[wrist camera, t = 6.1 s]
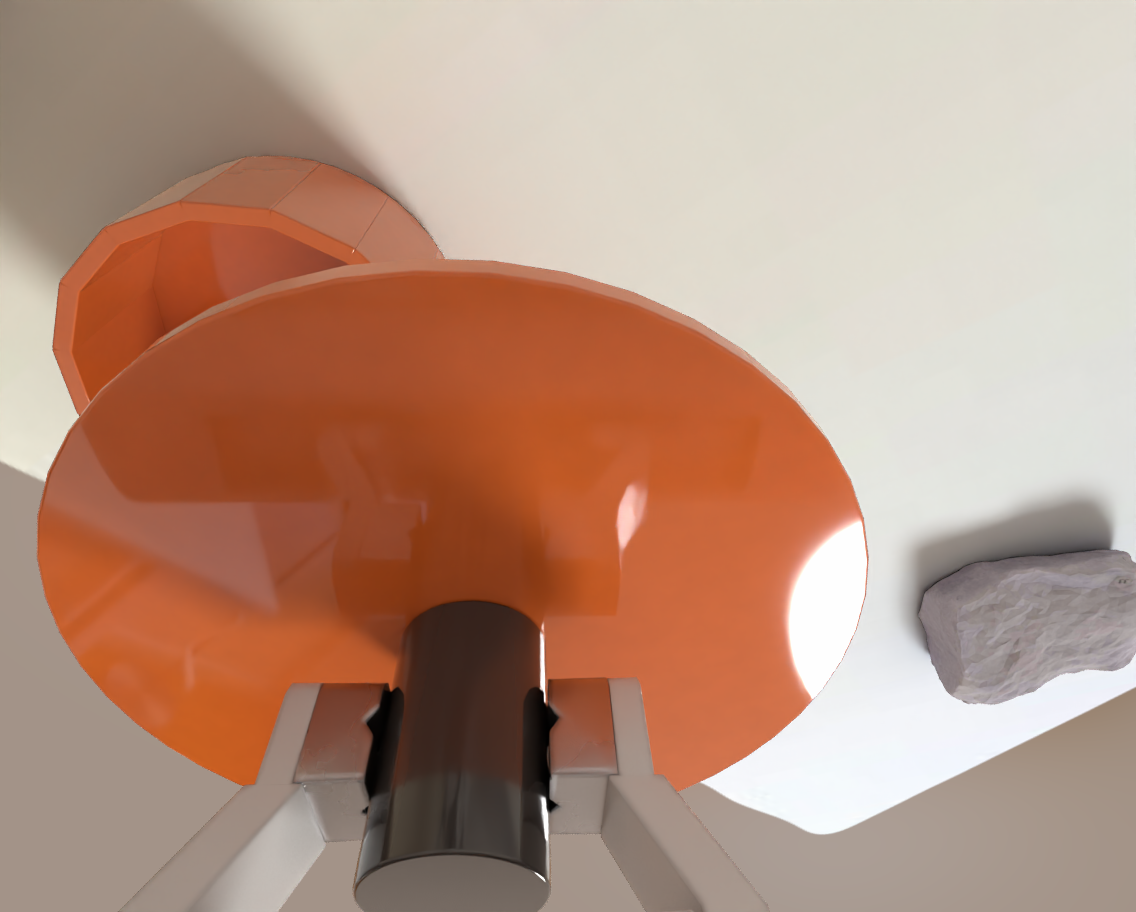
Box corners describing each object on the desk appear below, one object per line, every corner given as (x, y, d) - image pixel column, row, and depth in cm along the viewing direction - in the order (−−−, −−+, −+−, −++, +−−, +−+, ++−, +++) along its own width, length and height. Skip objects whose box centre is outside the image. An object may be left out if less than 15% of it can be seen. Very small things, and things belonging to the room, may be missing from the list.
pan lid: (-143, 399, 10) (-634, 715, 6) (824, 94, 8) (1140, 235, 4) (324, 825, 18) (263, 1081, 14) (855, 723, 16) (965, 983, 12)
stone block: (899, 561, 42) (927, 674, 46) (938, 609, 38) (965, 730, 41) (1097, 497, 40) (1109, 621, 44) (1162, 539, 36) (1169, 673, 40)
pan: (72, 217, 26) (-44, 279, 21) (381, 106, 24) (340, 143, 19) (259, 471, 34) (208, 563, 28) (505, 400, 32) (500, 485, 27)
